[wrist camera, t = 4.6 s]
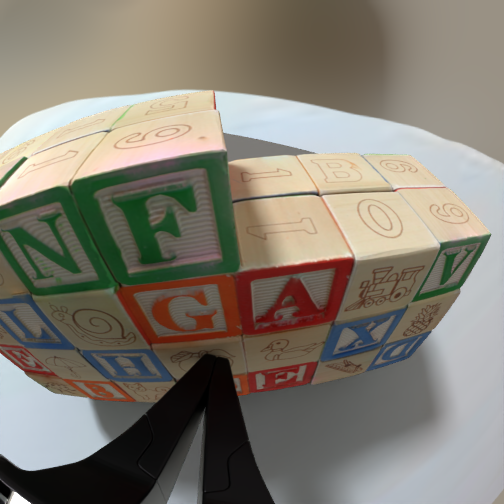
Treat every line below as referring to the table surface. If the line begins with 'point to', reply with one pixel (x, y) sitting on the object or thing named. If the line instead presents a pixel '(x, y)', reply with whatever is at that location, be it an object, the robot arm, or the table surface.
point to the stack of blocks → (216, 256)
